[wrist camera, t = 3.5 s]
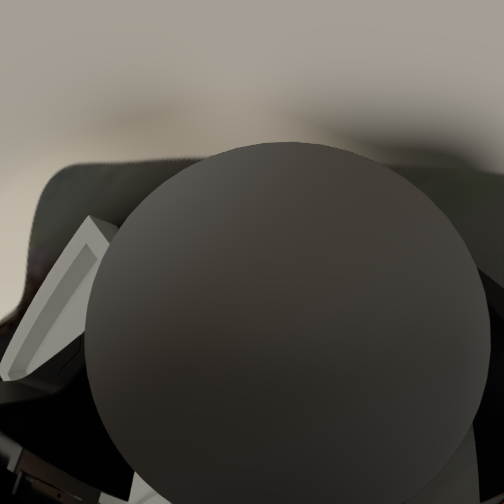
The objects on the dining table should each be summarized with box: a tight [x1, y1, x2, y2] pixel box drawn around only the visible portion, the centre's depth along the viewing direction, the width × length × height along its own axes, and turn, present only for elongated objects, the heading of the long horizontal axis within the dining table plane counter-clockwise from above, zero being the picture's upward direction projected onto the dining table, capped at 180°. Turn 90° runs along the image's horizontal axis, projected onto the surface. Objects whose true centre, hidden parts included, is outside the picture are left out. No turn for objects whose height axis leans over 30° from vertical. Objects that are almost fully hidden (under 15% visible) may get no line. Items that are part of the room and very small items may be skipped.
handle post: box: [85, 142, 491, 504], centre depth 10 cm, size 4×4×14 cm
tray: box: [0, 215, 172, 504], centre depth 17 cm, size 16×16×3 cm
